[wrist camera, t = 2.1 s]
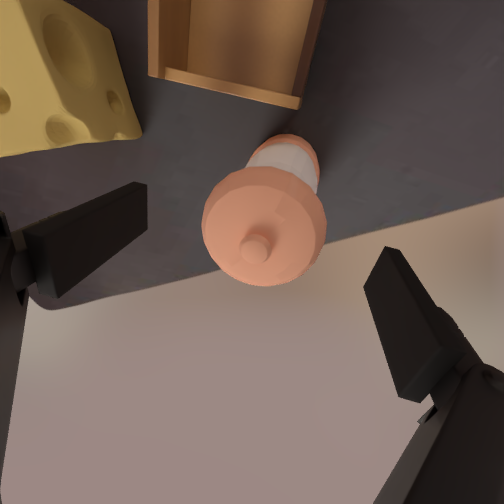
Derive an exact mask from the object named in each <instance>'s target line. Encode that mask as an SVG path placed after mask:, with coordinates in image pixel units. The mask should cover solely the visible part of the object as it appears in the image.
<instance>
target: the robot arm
mask: <svg viewBox="0 0 504 504" xmlns="http://www.w3.org/2000/svg"><path fill="white" fill-rule="evenodd" d="M146 230H147V185H146V184H142V183H138V182H132V183H129V184H127V185H125V186H123V187H120V188H118V189H116V190H113V191H111V192H109V193H106V194H104V195H102V196H100V197H97V198H95V199H93V200H90V201H88V202H86V203H83V204H81V205H79V206H77V207H74V208H72V209H70V210H67V211H63V212H58V213H56V214H53V215H51V216H49V217H47V218H44V219H42V220H39V222H35V223H32V224H30V225H27V226H25V227H23V228H20V229H18V230H16V231H13V232H11V233H10V230H9V226H8V223H7V220H6V217H5V213H4V212H2V211H0V485H1V476H2V469H3V463H4V457H5V450H6V444H7V437H8V430H9V424H10V417H11V410H12V404H13V398H14V390H15V384H16V377H17V371H18V364H19V358H20V352H21V345H22V338H23V332H24V326H25V319H26V312H27V305H28V299H29V292H28V288H27V287H28V286H29V285H31V284H33V283H34V282H36V283H37V287H38V290H39V294H43V295H46V296H50V297H53V298H56V299H58V298H60V297H61V296H62V295H63V294H65V293H66V292H67V291H69V290H70V289H71V288H72V287H74V286H75V285H76V284H78V283H79V282H80V281H81V280H83V279H84V278H85V277H87V276H88V275H89V274H91V273H92V272H93V271H94V270H96V269H97V268H98V267H100V266H101V265H102V264H103V263H105V262H106V261H107V260H109V259H110V258H111V257H112V256H114V255H115V254H116V253H118V252H119V251H120V250H121V249H123V248H124V247H125V246H127V245H128V244H129V243H131V242H132V241H133V240H134V239H136V238H137V237H138V236H140V235H141V234H142V233H143V232H145V231H146ZM363 288H364V291H365V294H366V297H367V300H368V303H369V307H370V310H371V313H372V316H373V319H374V322H375V325H376V328H377V331H378V334H379V338H380V341H381V344H382V347H383V350H384V353H385V356H386V360H387V363H388V366H389V369H390V372H391V375H392V378H393V381H394V385H395V387H396V391H397V394H398V397H400V398H403V399H407V400H411V401H414V402H417V403H421V402H422V401H423V400H424V398H425V397H426V396H427V395H428V394H429V393H430V395H431V397H432V400H433V402H434V405H433V406H432V407H431V408H430V409H429V410H428V411H427V412H426V413H425V414H424V415H423V416H422V417H421V418H420V419H419V420H418V421H417V422H418V423H419V424H420V425H419V427H418V429H417V430H416V432H415V434H414V435H413V437H412V439H411V440H410V442H409V444H408V446H407V447H406V449H405V450H404V452H403V454H402V456H401V457H400V459H399V461H398V462H397V464H396V466H395V468H394V469H393V471H392V472H391V474H390V476H389V478H388V479H387V481H386V482H385V484H384V486H383V488H382V489H381V491H380V493H379V494H378V496H377V498H376V499H375V501H374V503H373V504H504V373H503V372H502V371H500V370H498V369H496V368H494V367H493V366H490V365H487V364H484V363H483V362H482V360H481V359H480V357H479V356H478V354H477V353H476V352H475V350H474V349H473V347H472V346H471V344H470V343H469V342H468V340H467V339H466V337H464V335H463V333H462V331H461V330H460V329H458V326H457V324H456V323H455V322H454V320H453V318H452V317H451V316H450V315H449V314H447V313H446V312H445V311H444V310H443V309H442V308H440V307H437V306H436V305H435V303H434V301H433V300H432V299H431V297H430V295H429V294H428V292H427V291H426V289H425V288H424V286H423V285H422V283H421V282H420V280H419V279H418V277H417V276H416V274H415V273H414V271H413V270H412V268H411V266H410V265H409V263H408V262H407V260H406V259H405V257H404V256H403V254H402V253H401V251H400V250H398V249H394V248H391V247H386V246H385V247H384V249H383V251H382V252H381V254H380V256H379V258H378V260H377V262H376V264H375V266H374V268H373V269H372V271H371V273H370V275H369V277H368V279H367V281H366V283H365V285H364V287H363ZM0 504H2V501H1V495H0Z"/></svg>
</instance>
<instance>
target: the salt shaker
mask: <svg viewBox="0 0 504 504" xmlns="http://www.w3.org/2000/svg"><path fill="white" fill-rule="evenodd" d="M319 173H320V169H319V164H318V160H317V156H316V153H315V151H314V150H313V148H312V146H311V145H310V144H309V143H308V142H307V141H305V140H304V139H303V138H302V137H299V136H296V135H293V134H279V135H276V136H274V137H271V138H269V139H268V140H267V141H265V142H264V143H263V144H262V145H261V146H259V147H258V148H257V149H256V150H255V151H254V153H253V155H252V156H251V158H250V159H249V162H248V164H247V165H246V167H245V168H244V169H242V170H239V171H236V172H233V173H230V174H229V175H228V176H227V177H225V178H224V179H223V180H222V181H221V182H219V183H218V184H217V185H216V186H215V187H214V189H213V191H212V192H211V194H210V196H209V197H208V199H207V201H206V203H205V208H204V213H203V218H202V224H201V226H202V232H203V239H204V243H205V245H206V247H207V249H208V251H209V253H210V255H211V257H212V258H213V260H214V261H215V262H216V263H217V264H218V265H219V266H220V268H221V269H222V270H223V271H224V272H225V273H227V274H229V275H230V276H232V277H233V278H235V279H236V280H238V281H241V282H244V283H247V284H250V285H256V286H273V285H278V284H282V283H287V282H289V281H291V280H293V279H295V278H297V277H299V276H301V275H303V273H305V272H306V271H307V270H308V269H309V268H310V267H311V266H312V265H313V264H314V263H315V261H316V259H317V257H318V255H319V253H320V251H321V249H322V247H323V245H324V243H325V237H326V227H327V221H326V217H325V214H324V210H323V206H322V203H321V202H320V200H319V199H318V197H317V196H316V193H317V186H318V183H319Z"/></svg>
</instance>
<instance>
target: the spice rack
mask: <svg viewBox="0 0 504 504" xmlns="http://www.w3.org/2000/svg"><path fill="white" fill-rule="evenodd" d="M326 4H327V0H148V75H149V76H152V77H156V78H161V79H166V80H170V81H174V82H179V83H183V84H187V85H192V86H196V87H200V88H204V89H209V90H213V91H217V92H222V93H226V94H230V95H234V96H239V97H243V98H247V99H252V100H256V101H260V102H264V103H269V104H273V105H277V106H282V107H286V108H290V109H295V110H298V109H300V108H301V104H302V98H303V94H304V90H305V86H306V82H307V78H308V74H309V70H310V66H311V63H312V59H313V55H314V51H315V47H316V43H317V39H318V35H319V31H320V28H321V24H322V20H323V16H324V12H325V8H326Z"/></svg>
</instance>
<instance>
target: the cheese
mask: <svg viewBox="0 0 504 504" xmlns="http://www.w3.org/2000/svg"><path fill="white" fill-rule="evenodd" d="M142 135H143V134H142V130H141V127H140V124H139V121H138V119H137V116H136V114H135V111H134V109H133V106H132V102H131V99H130V96H129V92H128V89H127V86H126V83H125V80H124V76H123V73H122V70H121V66H120V63H119V59H118V56H117V52H116V49H115V45H114V41H113V38H112V35H111V32H110V30H109V29H108V28H106V27H104V26H103V25H101V24H100V23H99V22H97V21H96V20H94V19H93V18H91V17H90V16H88V15H87V14H85V13H84V12H82V11H81V10H79V9H77V8H76V7H74V6H72V5H71V4H69V3H67V2H65V1H63V0H0V157H5V156H11V155H18V154H23V153H27V152H31V151H37V150H47V149H53V148H60V147H65V146H70V145H75V144H81V143H93V142H105V141H111V140H129V139H137V138H140V137H141V136H142Z"/></svg>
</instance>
